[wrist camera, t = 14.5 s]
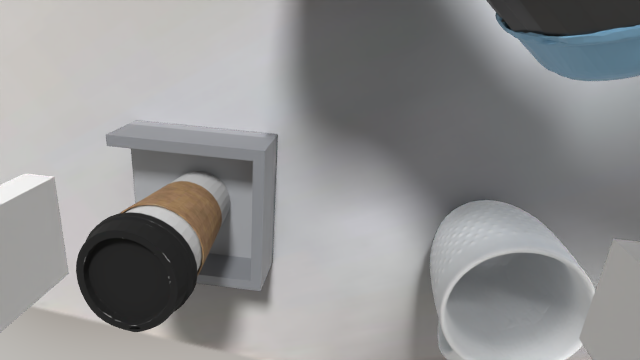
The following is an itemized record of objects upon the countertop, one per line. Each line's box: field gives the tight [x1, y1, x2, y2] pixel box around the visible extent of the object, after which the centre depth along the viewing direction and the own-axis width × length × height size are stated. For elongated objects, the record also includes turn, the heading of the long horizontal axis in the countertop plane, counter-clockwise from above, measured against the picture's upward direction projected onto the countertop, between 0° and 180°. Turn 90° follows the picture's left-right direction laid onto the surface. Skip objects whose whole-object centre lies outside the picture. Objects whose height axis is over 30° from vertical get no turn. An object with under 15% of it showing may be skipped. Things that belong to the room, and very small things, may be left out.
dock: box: [106, 121, 278, 291], centre depth 43 cm, size 14×14×6 cm
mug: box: [430, 200, 595, 360], centre depth 39 cm, size 15×11×13 cm
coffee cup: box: [76, 171, 230, 332], centre depth 38 cm, size 8×8×15 cm
